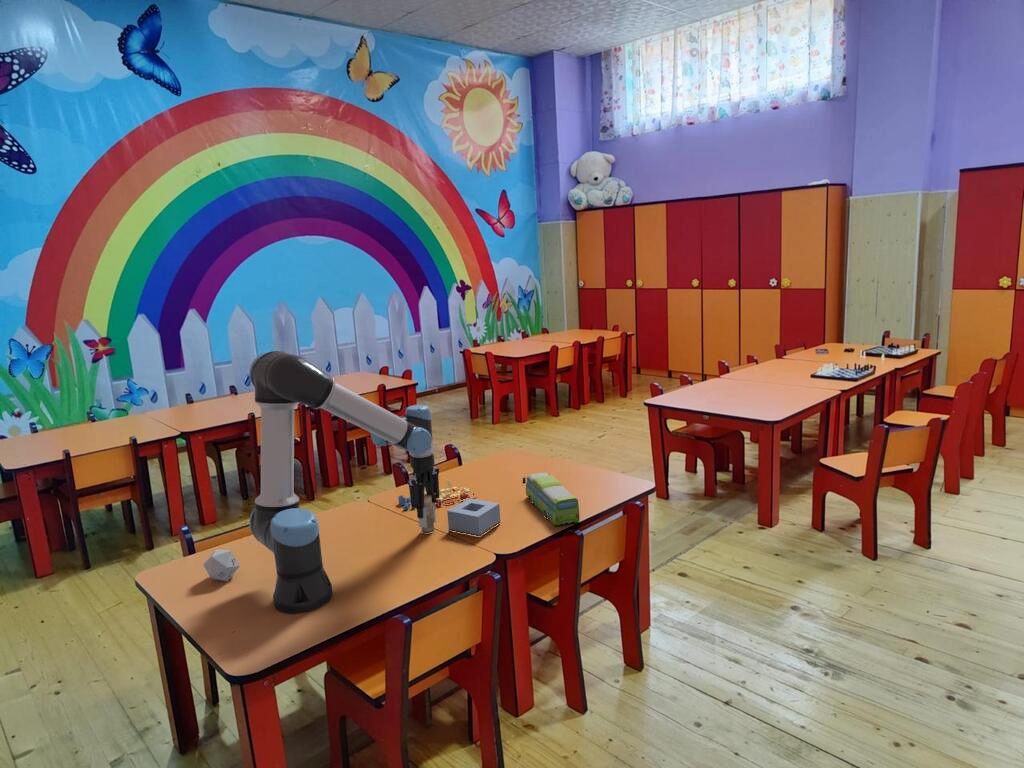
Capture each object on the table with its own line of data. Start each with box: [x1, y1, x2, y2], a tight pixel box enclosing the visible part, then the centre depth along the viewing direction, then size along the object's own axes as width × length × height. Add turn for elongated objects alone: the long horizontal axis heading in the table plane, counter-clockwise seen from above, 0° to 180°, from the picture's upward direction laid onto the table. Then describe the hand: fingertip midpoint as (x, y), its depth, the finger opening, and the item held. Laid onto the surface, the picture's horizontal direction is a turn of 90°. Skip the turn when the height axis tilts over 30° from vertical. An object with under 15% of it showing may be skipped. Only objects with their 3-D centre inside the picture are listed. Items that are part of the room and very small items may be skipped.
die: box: [202, 548, 241, 582], centre depth 199 cm, size 8×9×10 cm
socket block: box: [446, 498, 501, 536], centre depth 224 cm, size 12×12×7 cm
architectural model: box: [397, 478, 475, 511], centre depth 254 cm, size 45×14×5 cm, turn 121°
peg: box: [420, 494, 435, 534], centre depth 222 cm, size 4×4×12 cm
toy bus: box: [522, 472, 580, 526], centre depth 235 cm, size 10×31×10 cm, turn 17°
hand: (427, 524), depth 223 cm, fingers closed on peg, 4 cm apart
